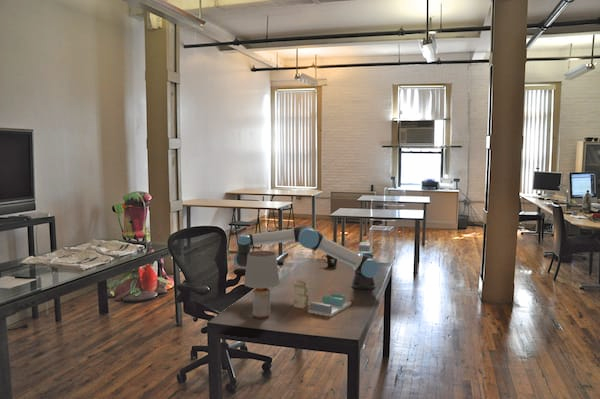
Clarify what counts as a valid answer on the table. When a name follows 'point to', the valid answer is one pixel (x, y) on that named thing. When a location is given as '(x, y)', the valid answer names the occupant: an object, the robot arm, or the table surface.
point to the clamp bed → (334, 309)
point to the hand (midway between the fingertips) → (286, 267)
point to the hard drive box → (364, 246)
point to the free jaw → (334, 299)
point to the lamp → (261, 279)
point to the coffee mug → (330, 261)
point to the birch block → (301, 293)
